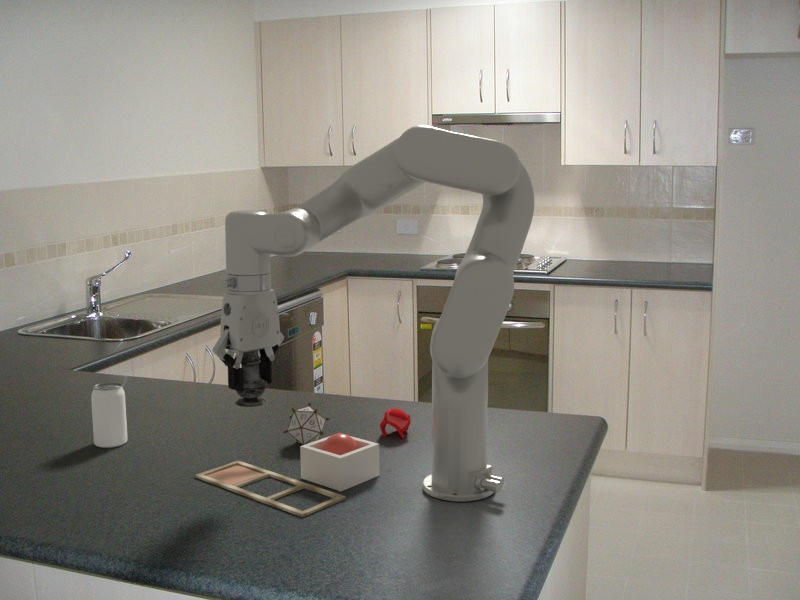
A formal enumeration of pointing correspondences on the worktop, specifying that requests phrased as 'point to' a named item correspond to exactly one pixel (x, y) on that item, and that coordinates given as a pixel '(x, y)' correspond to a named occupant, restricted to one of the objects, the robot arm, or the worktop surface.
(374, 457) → the dome housing
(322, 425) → the game die
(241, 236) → the robot arm
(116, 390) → the can
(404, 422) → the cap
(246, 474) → the game track
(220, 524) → the worktop surface
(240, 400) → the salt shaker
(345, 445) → the pop dome
